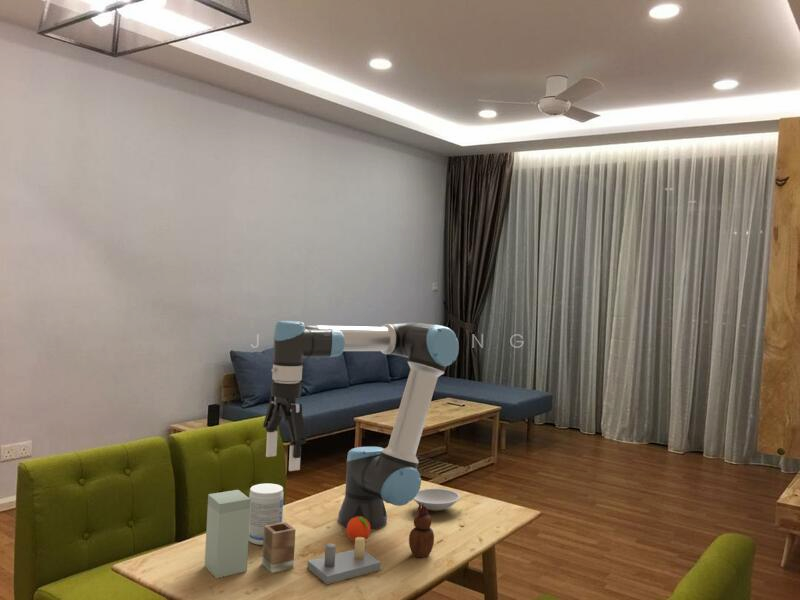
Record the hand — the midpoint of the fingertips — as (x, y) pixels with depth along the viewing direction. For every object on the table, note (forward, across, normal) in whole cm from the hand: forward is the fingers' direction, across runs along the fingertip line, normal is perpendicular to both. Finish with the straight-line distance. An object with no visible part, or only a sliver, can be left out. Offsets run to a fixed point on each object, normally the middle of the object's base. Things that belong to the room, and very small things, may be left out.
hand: (282, 463), depth 163 cm
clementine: (+27, -3, +27) cm, 38 cm away
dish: (+27, -12, +63) cm, 70 cm away
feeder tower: (+27, -5, -12) cm, 30 cm away
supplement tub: (+27, -17, +4) cm, 32 cm away
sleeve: (+27, 0, 0) cm, 27 cm away
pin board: (+27, +10, +14) cm, 32 cm away
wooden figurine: (+27, +13, +37) cm, 48 cm away
